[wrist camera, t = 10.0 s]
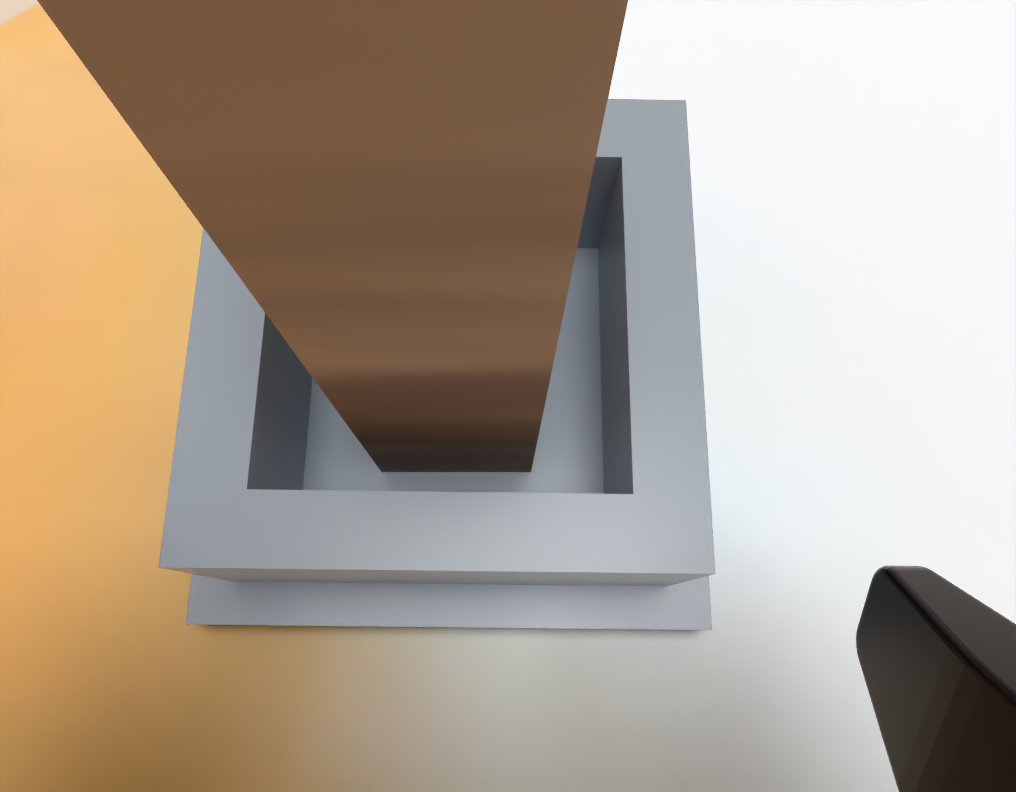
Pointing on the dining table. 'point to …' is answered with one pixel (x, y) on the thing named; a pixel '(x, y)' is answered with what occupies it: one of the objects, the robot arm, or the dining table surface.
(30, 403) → the dining table surface
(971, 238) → the dining table surface
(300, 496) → the end cap
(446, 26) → the brown wooden block
